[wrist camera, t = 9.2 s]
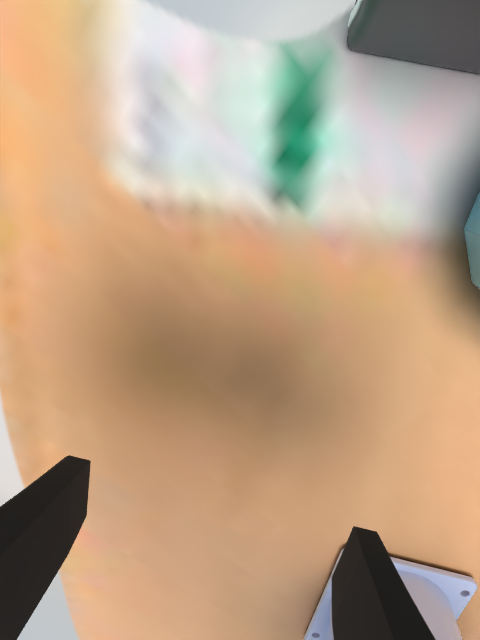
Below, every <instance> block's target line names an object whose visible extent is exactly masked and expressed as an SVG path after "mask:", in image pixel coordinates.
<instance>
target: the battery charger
mask: <svg viewBox="0 0 480 640" xmlns="http://www.w3.org/2000/svg"><path fill="white" fill-rule="evenodd" d="M348 28H349V32H348V38H347V43H348V47H349V48H350V49H351V50H354V51H358V52H364V53H369V54H374V55H379V56H385V57H390V58H395V59H401V60H406V61H412V62H417V63H422V64H428V65H433V66H439V67H444V68H450V69H456V70H461V71H467V72H472V73H478V74H480V0H356V3H355V6H354V8H353V10H352V12H351V13H350V17H349V22H348Z"/></svg>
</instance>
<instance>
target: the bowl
mask: <svg viewBox="0 0 480 640" xmlns="http://www.w3.org/2000/svg"><path fill="white" fill-rule="evenodd" d="M464 233H465V240H466V247H467V254H468V261H469V267H470V274H471V281H472V283H473V284H474V285H475V286H476V287H477V288H478V289H479V290H480V191H479V193H478V196H477V198H476V201H475V203H474V205H473V208H472V210H471V213H470V215H469V217H468V220H467V222H466V225H465V227H464Z"/></svg>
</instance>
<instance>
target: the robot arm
mask: <svg viewBox="0 0 480 640" xmlns="http://www.w3.org/2000/svg"><path fill="white" fill-rule="evenodd" d="M89 475H90V460H86V459H82V458H78V457H73V456H67V457H65V458H64V459H62V460H61V461H60V462H59V463H57V464H56V465H55V466H53V467H52V468H51V469H50V470H48V471H47V472H46V473H45V474H43V475H42V476H41V477H39V478H38V479H37V480H36V481H34V482H33V483H32V484H30V485H29V486H28V487H26V488H25V489H24V490H22V491H21V492H20V493H18V494H17V495H16V496H14V497H13V498H12V499H10V500H9V501H7V502H6V503H5V504H3V505H2V506H1V507H0V640H17V638H18V636H19V635H20V633H21V631H22V630H23V628H24V627H25V624H26V623H27V622H28V620H29V618H30V617H31V615H32V613H33V611H34V610H35V608H36V607H37V605H38V603H39V602H40V600H41V599H42V597H43V595H44V594H45V592H46V590H47V589H48V587H49V585H50V584H51V582H52V580H53V579H54V577H55V575H56V574H57V572H58V570H59V569H60V567H61V565H62V564H63V562H64V560H65V559H66V557H67V555H68V554H69V551H70V549H71V547H72V545H73V543H74V541H75V539H76V537H77V535H78V533H79V531H80V528H81V526H82V524H83V522H84V520H85V518H86V515H87V502H88V488H89ZM476 590H477V584H476V582H475V580H474V579H473V578H472V577H469V576H465V575H461V574H457V573H453V572H449V571H445V570H441V569H437V568H433V567H429V566H425V565H421V564H417V563H413V562H409V561H405V560H401V559H397V558H393V557H390V556H389V554H388V552H387V550H386V548H385V546H384V544H383V542H382V541H381V539H380V537H379V535H378V533H377V532H375V531H371V530H367V529H363V528H359V527H355V526H354V527H353V529H352V531H351V534H350V536H349V538H348V541H347V543H346V545H345V548H343V549H342V551H341V553H340V555H339V557H338V560H337V562H336V564H335V567H334V569H333V571H332V574H331V576H330V578H329V581H328V583H327V585H326V588H325V590H324V592H323V594H322V597H321V599H320V601H319V604H318V606H317V608H316V611H315V613H314V615H313V618H312V620H311V622H310V625H309V627H308V629H307V632H306V634H305V636H304V640H463V639H462V636H461V633H460V631H459V628H458V625H457V622H456V620H457V619H458V617H459V616H460V614H461V613H462V611H463V610H464V608H465V607H466V605H467V604H468V602H469V600H470V599H471V597H472V596H473V594H474V593H475V591H476Z"/></svg>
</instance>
